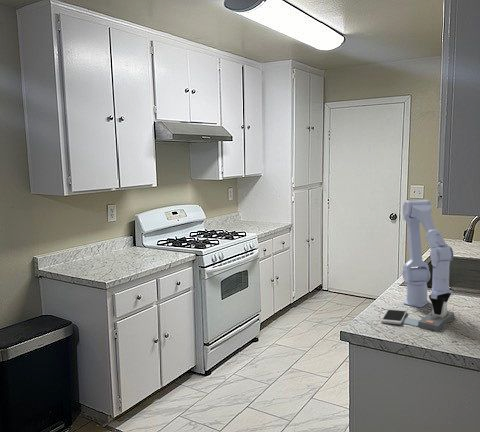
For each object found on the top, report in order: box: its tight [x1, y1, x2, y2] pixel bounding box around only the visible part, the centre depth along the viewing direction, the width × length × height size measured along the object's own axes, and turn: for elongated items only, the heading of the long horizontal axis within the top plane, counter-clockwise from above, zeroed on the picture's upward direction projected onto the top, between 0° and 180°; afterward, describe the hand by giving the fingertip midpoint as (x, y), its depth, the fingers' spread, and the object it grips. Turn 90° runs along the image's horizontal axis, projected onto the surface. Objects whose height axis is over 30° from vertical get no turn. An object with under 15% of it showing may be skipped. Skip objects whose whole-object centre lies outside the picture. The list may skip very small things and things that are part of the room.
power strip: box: [418, 310, 455, 332], centre depth 168 cm, size 18×7×2 cm, turn 138°
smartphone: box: [380, 307, 408, 325], centre depth 174 cm, size 7×16×1 cm, turn 151°
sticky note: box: [401, 317, 421, 327], centre depth 169 cm, size 6×6×1 cm
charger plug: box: [431, 301, 448, 318], centre depth 170 cm, size 4×4×7 cm
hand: (439, 312), depth 170 cm, fingers closed on charger plug, 4 cm apart
